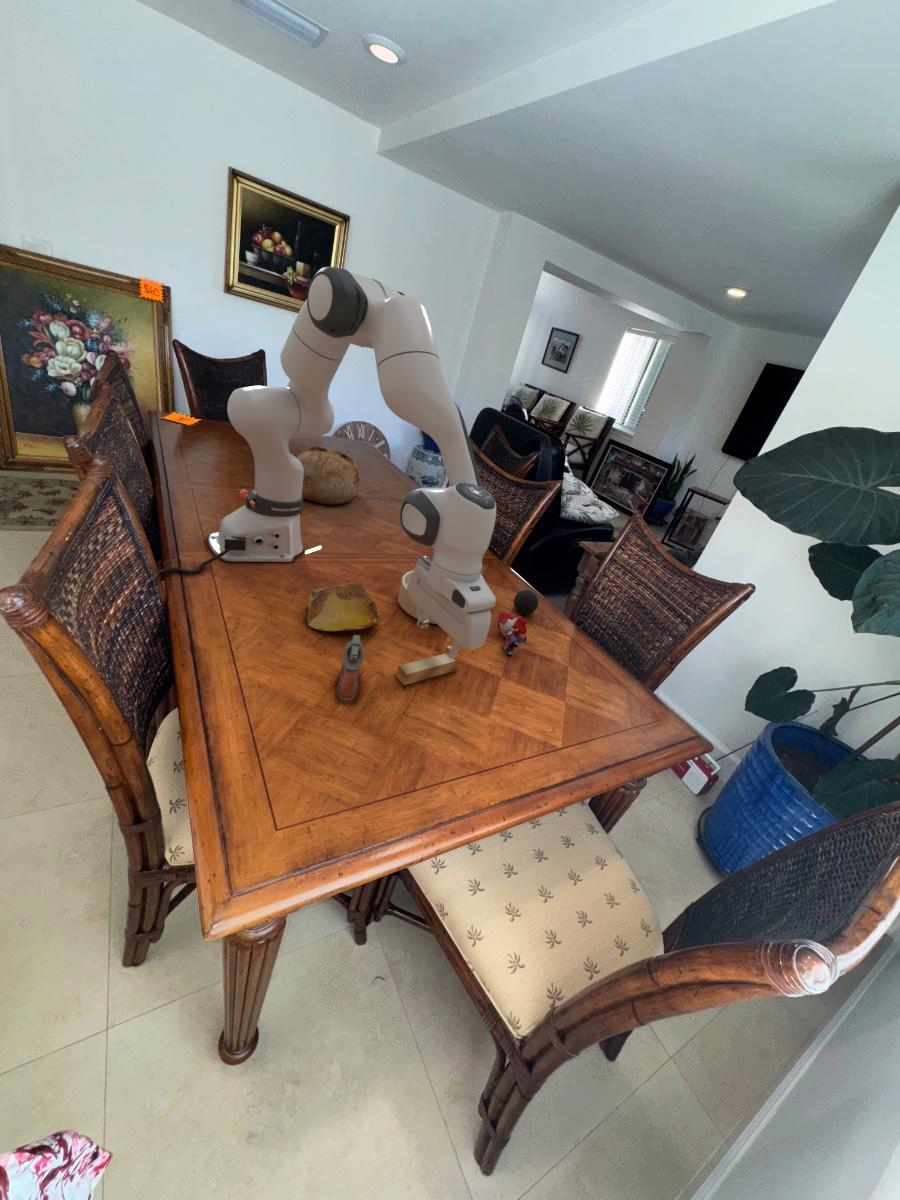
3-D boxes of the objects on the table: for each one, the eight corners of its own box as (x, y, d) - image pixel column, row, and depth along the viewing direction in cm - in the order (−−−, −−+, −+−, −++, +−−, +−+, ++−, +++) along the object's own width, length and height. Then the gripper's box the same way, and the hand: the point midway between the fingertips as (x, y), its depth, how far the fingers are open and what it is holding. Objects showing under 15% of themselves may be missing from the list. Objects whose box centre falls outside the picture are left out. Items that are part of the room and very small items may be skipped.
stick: (403, 685, 91) (406, 674, 90) (396, 676, 93) (398, 665, 91) (452, 671, 98) (456, 660, 97) (444, 663, 100) (447, 652, 99)
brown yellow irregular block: (391, 622, 100) (321, 613, 93) (378, 648, 104) (310, 641, 96) (374, 574, 112) (310, 563, 104) (363, 599, 116) (300, 590, 108)
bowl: (421, 631, 108) (427, 608, 105) (384, 593, 118) (389, 572, 116) (475, 619, 118) (482, 599, 116) (437, 586, 129) (442, 566, 126)
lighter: (340, 671, 90) (348, 627, 85) (358, 674, 91) (367, 630, 86) (335, 701, 83) (343, 655, 78) (355, 703, 84) (364, 658, 79)
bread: (347, 513, 157) (354, 468, 150) (275, 496, 155) (279, 449, 148) (361, 489, 180) (368, 450, 173) (299, 474, 178) (303, 433, 171)
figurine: (492, 655, 106) (489, 620, 119) (526, 670, 107) (518, 633, 120) (507, 633, 103) (502, 600, 116) (541, 648, 104) (532, 614, 118)
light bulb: (536, 588, 133) (540, 591, 123) (534, 611, 133) (538, 616, 124) (513, 586, 133) (515, 590, 123) (511, 609, 134) (513, 614, 124)
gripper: (406, 552, 90) (393, 614, 96) (475, 610, 77) (454, 677, 83) (433, 550, 93) (419, 610, 100) (503, 604, 81) (481, 669, 87)
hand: (435, 641), depth 92 cm, fingers open, 8 cm apart
